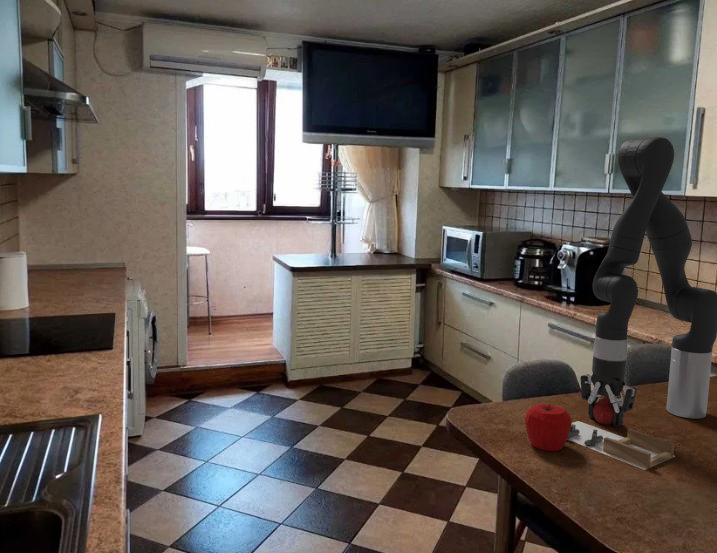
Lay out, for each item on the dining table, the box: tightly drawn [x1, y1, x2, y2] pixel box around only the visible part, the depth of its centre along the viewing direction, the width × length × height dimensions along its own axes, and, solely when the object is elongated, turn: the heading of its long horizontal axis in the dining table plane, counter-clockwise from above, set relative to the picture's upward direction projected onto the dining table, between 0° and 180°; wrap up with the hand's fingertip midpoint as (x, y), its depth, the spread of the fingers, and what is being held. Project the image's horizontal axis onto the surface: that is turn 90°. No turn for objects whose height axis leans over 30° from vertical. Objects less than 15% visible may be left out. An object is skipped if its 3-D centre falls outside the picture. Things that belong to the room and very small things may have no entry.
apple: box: [524, 403, 573, 452], centre depth 134 cm, size 10×10×11 cm
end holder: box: [603, 428, 675, 469], centre depth 130 cm, size 10×10×3 cm
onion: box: [593, 396, 615, 426], centre depth 149 cm, size 6×6×8 cm
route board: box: [566, 420, 676, 471], centre depth 136 cm, size 14×24×4 cm, turn 35°
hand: (604, 421), depth 149 cm, fingers closed on onion, 6 cm apart
